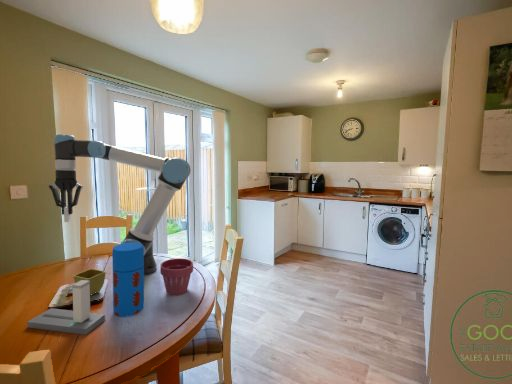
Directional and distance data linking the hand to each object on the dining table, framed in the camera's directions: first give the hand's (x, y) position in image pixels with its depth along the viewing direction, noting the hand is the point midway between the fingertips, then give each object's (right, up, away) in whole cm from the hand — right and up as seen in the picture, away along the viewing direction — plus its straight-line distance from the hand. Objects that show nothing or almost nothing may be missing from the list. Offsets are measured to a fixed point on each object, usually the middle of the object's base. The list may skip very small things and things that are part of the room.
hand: (67, 221), depth 123 cm
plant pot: (+51, -31, -2) cm, 60 cm away
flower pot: (+14, -31, -6) cm, 34 cm away
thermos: (+37, -32, -18) cm, 52 cm away
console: (+20, -33, -28) cm, 48 cm away
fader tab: (+26, -31, -29) cm, 50 cm away
